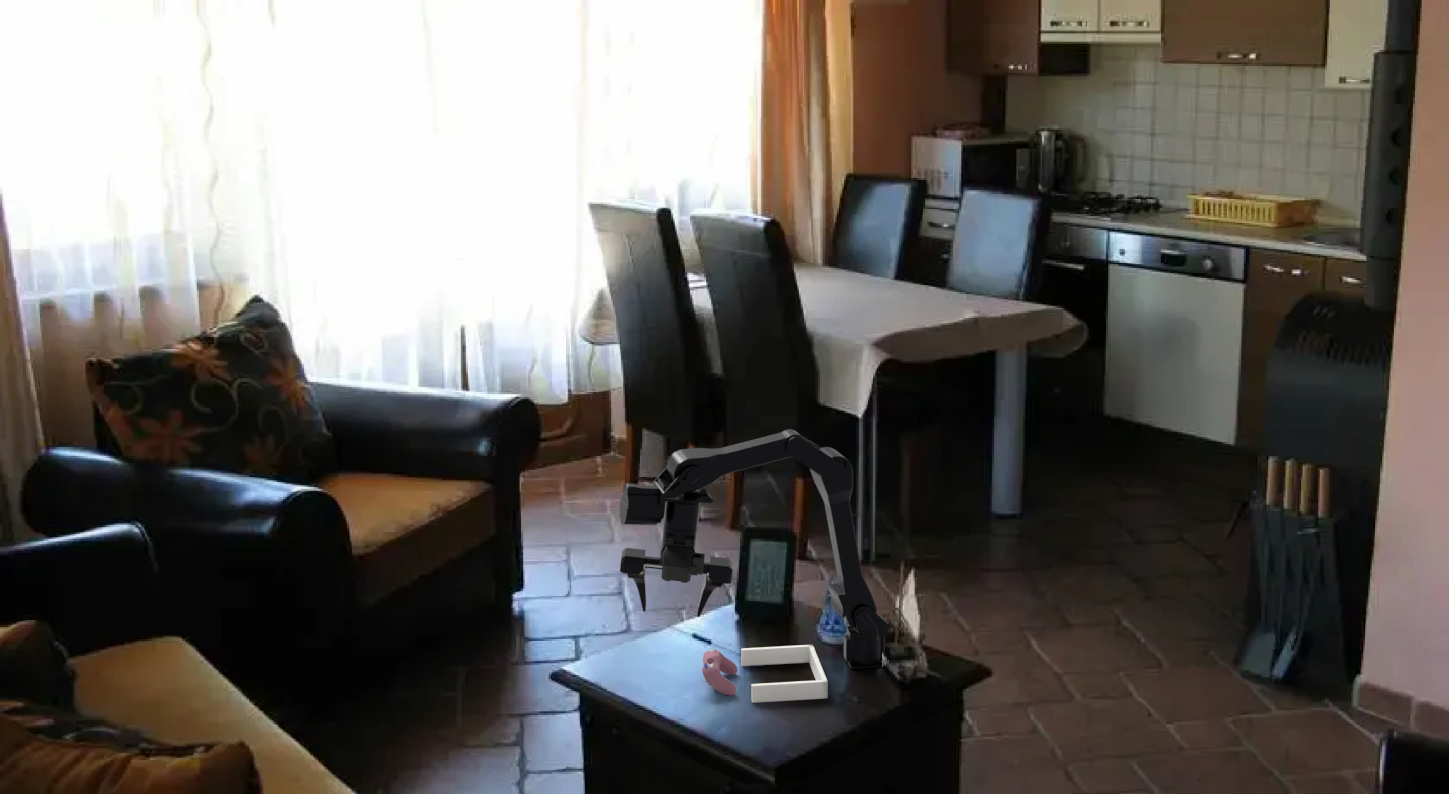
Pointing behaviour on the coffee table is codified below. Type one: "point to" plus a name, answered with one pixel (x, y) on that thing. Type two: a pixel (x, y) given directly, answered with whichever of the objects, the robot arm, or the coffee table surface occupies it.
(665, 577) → the robot arm
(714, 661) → the pink curved piece
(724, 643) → the coffee table surface
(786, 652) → the white u-shaped bracket
